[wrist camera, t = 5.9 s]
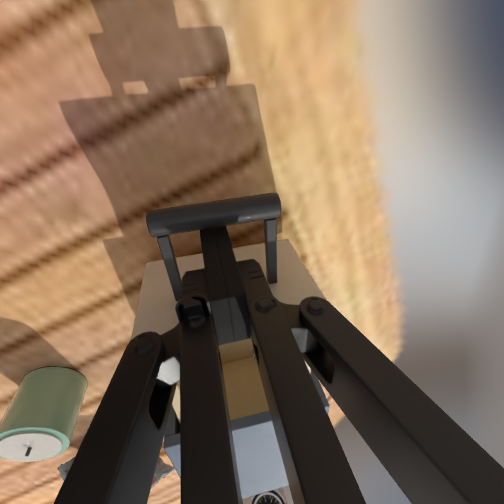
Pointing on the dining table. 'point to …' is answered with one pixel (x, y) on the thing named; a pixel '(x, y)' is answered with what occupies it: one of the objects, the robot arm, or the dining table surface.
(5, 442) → the votive
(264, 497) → the watch
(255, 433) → the cabinet
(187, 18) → the dining table surface
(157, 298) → the drawer
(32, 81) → the dining table surface
